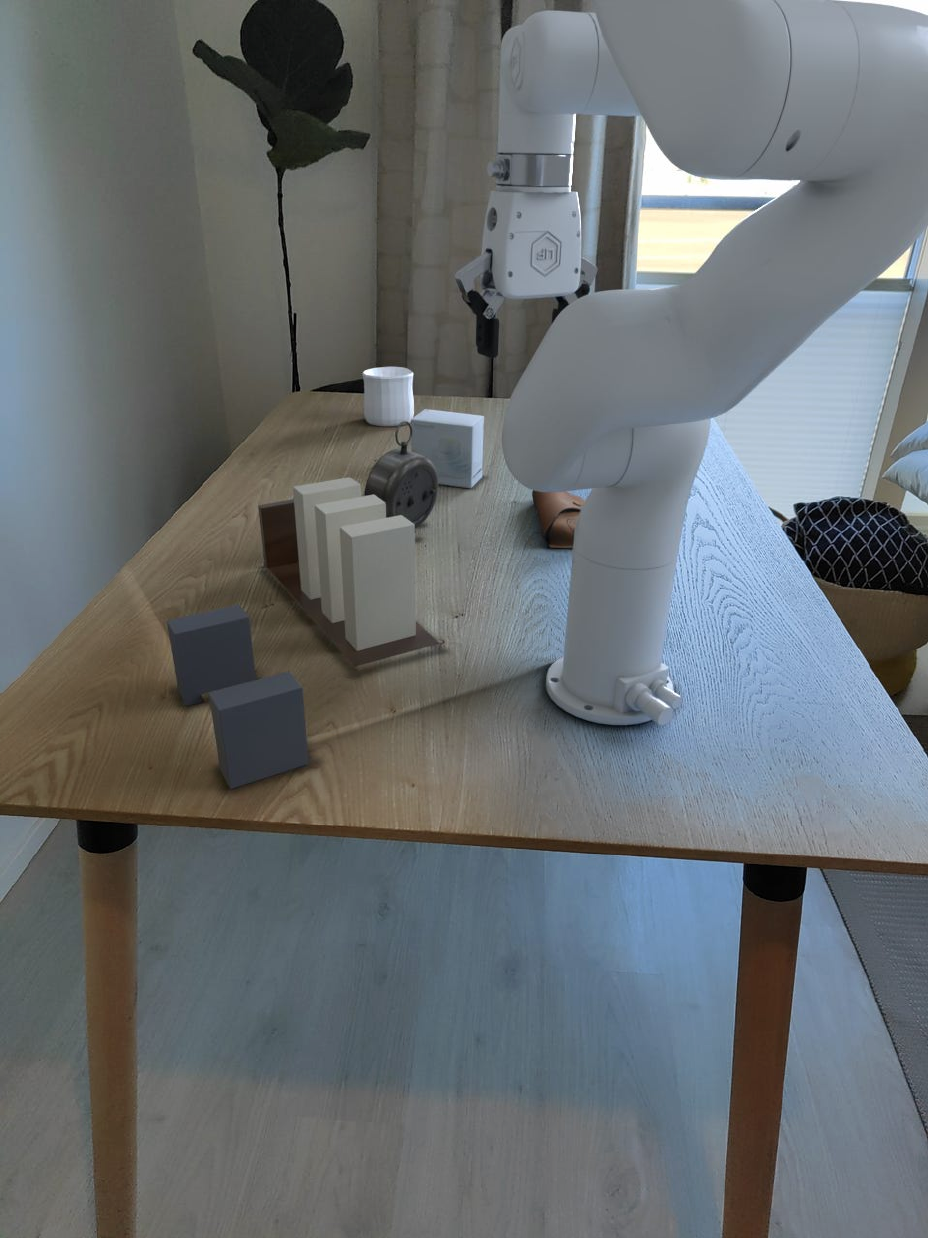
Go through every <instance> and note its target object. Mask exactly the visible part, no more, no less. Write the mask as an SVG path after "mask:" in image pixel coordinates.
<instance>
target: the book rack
mask: <svg viewBox="0 0 928 1238" xmlns="http://www.w3.org/2000/svg"><path fill="white" fill-rule="evenodd" d="M257 507H258V509H257V510H258V516H259V526H260V536H261V537H260V538H261V546H262V556H263V565H264V567H265V568H266V569H267V570H268V571H269V572H270V573H271V575H273V577H274V578H275V579H276V580H277V581H278V582H279V584H281V586H282V587H284V589H285V590H286V591H287V592H288V594H289V595H290V596H291V597H292V598H293V599H294V601H296V603H297V604H298V605H299V606H300V607H301V608H302V609H303V610H304V612H306V614H307V615H308V616H309V617H310V618H311V620H312V621H313V622H314V623H315V624H316V625H317V626H318V627H319V628H320V629H321V630H322V632H323V633H324V634H325V635H326V636H327V637H328V639H330V641H331V642H332V643H333V644H334V645H335V646H336V647H337V649H338V650H339V651H340V652H341V653H342V654H343V655H344V657H346V659H347V661H349V662H350V663H351V664H352V666H353V667H358V666H363V665H366V664H370V663H373V662H378V661H381V660H384V659H387V658H391V657H395V656H399V655H403V654H406V653H410V652H413V651H417V650H420V649H424V648H428V647H431V646H436V645H438V644H440V641H439V640H438V639H436V638H435V637H434V636H433V634H432V633H430V632H428V630H427V629H426V628H425V627H423V626H422V625H421V624H420V623H419V622H418V621H416V635H415V636H412V637H408V638H404V639H400V640H397V641H393V642H389V643H385V644H382V645H378V646H374V647H370V648H367V649H363V650H359V651H356V649H355V648H354V647H353V646H352V645H351V644H350V643H349V642H348V641H347V640H346V636H345V620H344V621H340V622H336V623H331V622H330V621H329V619H328V618H327V617H326V616H325V615H324V614H323V613H322V607H321V597H320V598H316V599H312V600H310V599H309V598H308V597H307V596H306V594H305V593H304V592H303V591H302V590H301V581H300V569H299V556H298V544H297V531H296V519H295V507H294V498H292V499H287V500H280V501H275V502H269V503H263V504H258V506H257Z"/></svg>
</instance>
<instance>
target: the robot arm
mask: <svg viewBox="0 0 928 1238" xmlns="http://www.w3.org/2000/svg"><path fill="white" fill-rule="evenodd" d="M593 5H594V11H595V12H589V11H584V12H583V11H582V12H581V11H570V10H569V11H568V10H541V11H537V12H535V13H533V14H531V15H530V16H528V17H527V18H526V19H525V21H524V22H523V23H522V24H518V25H515V26H512V27H510V28H509V29H508V30H507V31H505V34H504V35H503V37H502V39H501V43H500V53H499V86H498V88H499V89H498V118H497V119H498V120H497V121H498V123H497V149H496V150H497V154H496V155H495V160H494V161H489V162H488V163H487V165H486V174H487V176H488V177H489V178H494V179H495V180H494V183H495V190H493V189H492V190H490V194H489V198H488V201H487V202H488V203H487V207H486V212H485V219H484V225H483V232H482V233H483V234H482V241H481V251H480V252H481V254H480V255H479V256H477V257H476V258H474V260H471V261H470V262H468V263H467V264H466V265H465V266H463V267H461V268H459V270H457V271H456V272H455V274H454V279H455V282H456V283H457V287H458V289H459V292H460V293H461V298H462V301H464V302H465V303H466V305H467V306H468V307H469V309H470V311H471V314H473V315H474V316H475V317H476V318H475V345H476V347H477V348H476V350H477V354H479V355H481V356H484V357H487V358H489V359H495V358H497V357H498V356H499V342H500V341H499V337H500V320H499V318H497V317H495V315H496V314H497V312H498V311H499V309H500V308H501V306H503V303H504V302H505V300H506V299H510V300H526V299H527V300H528V299H529V300H530V299H542V298H552V300H553V301H554V302H555V305H557V307H555V308H553V309H552V311H551V313H552V314H551V325H550V327H548V329H547V331H546V333H545V335H544V337H543V338H542V340H541V341H540V344H539V346H538V347H537V348H536V351H535V352H534V354H533V355H532V357H531V359H530V361H529V362H528V364H527V366H526V368H525V369H524V371H523V373H522V374H521V377H520V378H519V380H518V382H517V383H516V385H515V387H514V389H513V391H512V393H511V395H510V398H509V400H508V403H507V406H506V410H505V412H504V417H503V421H502V428H501V448H502V455H503V459H504V461H505V465H506V466H507V469H508V470H509V472H510V473H511V475H512V477H513V478H514V479H515V480H516V481H517V482H518V483H519V484H521V485H522V486H524V487H525V488H527V489H529V490H531V491H533V490H534V491H539V492H561V491H566V492H572V491H580V490H591V491H590V492H589V493H588V495H587V496H586V499H584V500H585V502H584V504H583V506H582V508H581V511H580V513H579V516H578V519H577V522H576V527H575V533H574V543H573V549H572V553H571V554H572V555H571V566H570V577H569V578H570V579H569V590H568V601H567V602H568V603H567V611H566V626H565V635H564V636H565V637H564V647H563V656H562V657H560V658H558V659H556V660H555V661H554V662H553V663H552V664H551V665H550V666H549V668H548V669H547V672H546V676H545V677H546V678H545V688H546V692H547V694H548V696H549V698H550V700H552V702H554V703H555V705H556V706H558V707H559V708H560V709H561V710H563V711H565V712H566V713H568V714H570V715H572V716H574V717H576V718H579V719H582V720H584V721H588V722H591V723H596V724H599V725H600V724H601V725H608V726H631V725H639V724H643V723H648V722H649V721H650V722H651V721H653V722H654V723H655V724H657V725H658V726H660V727H664V726H666V725H668V724H669V723H670V722H671V721H672V720H673V716H674V713H675V712H674V710H677V709H679V708H680V707H681V706H682V704H683V702H684V698H683V697H682V696H681V695H680V694H678V693H677V692H675V688H674V682H673V681H672V678H671V677H670V676H669V671H670V667H669V666H668V665H666V664H664V663H663V656H664V648H665V642H666V637H667V636H666V635H667V630H668V622H669V615H670V609H671V603H672V598H673V597H672V596H673V590H674V582H675V576H676V570H677V563H678V556H679V553H680V546H681V540H682V533H683V527H684V522H685V516H686V511H687V507H688V503H689V499H690V496H691V492H692V488H693V486H694V483H695V479H696V476H697V475H698V472H699V469H700V466H701V464H702V461H703V458H704V456H705V452H706V449H707V446H708V442H709V437H710V432H711V423H712V422H711V420H712V419H714V418H717V417H719V416H722V415H724V414H726V413H727V412H729V411H730V410H732V409H733V408H735V407H736V406H737V405H739V404H740V403H741V402H742V401H743V400H745V398H747V397H748V396H749V395H750V394H751V393H752V392H753V391H754V390H755V389H756V388H757V387H759V386H760V385H761V384H762V383H763V382H764V381H765V380H766V379H767V378H768V377H769V376H770V375H772V373H773V372H774V371H776V369H778V368H779V367H780V366H781V365H782V364H783V363H784V362H785V361H787V359H788V358H789V357H791V355H793V354H794V353H795V352H796V351H797V350H798V349H799V348H800V347H801V346H802V345H803V344H804V343H805V342H806V341H807V340H808V339H809V338H810V337H811V336H812V335H813V334H814V333H815V331H817V329H819V328H820V327H821V326H822V325H823V324H824V323H825V322H827V320H828V319H830V318H831V317H832V316H834V314H836V312H838V311H839V310H841V308H843V307H844V306H845V305H846V304H847V303H849V302H850V301H851V300H852V299H853V298H855V297H856V296H857V295H858V294H860V293H861V292H862V291H863V290H865V289H866V288H867V287H868V286H869V285H871V284H872V283H873V282H874V281H875V280H877V279H878V278H879V277H880V276H881V275H882V274H884V272H886V271H887V270H889V268H890V267H891V266H892V265H893V264H894V263H895V262H897V261H898V260H899V259H901V257H902V256H903V255H904V254H905V253H906V252H907V251H908V250H909V249H910V248H911V247H912V246H913V245H914V243H915V242H916V241H917V240H918V239H919V238H920V237H921V235H922V234H923V233H924V232H925V231H926V229H927V228H928V14H925V13H922V12H920V11H916V10H912V9H908V8H903V7H899V6H895V5H889V4H883V3H882V4H881V3H872V2H864V1H863V2H862V1H850V0H593ZM577 115H591V116H613V117H640V116H641V117H642V119H643V122H644V123H645V125H646V127H647V129H648V131H649V133H650V135H651V137H652V138H653V140H654V142H655V144H656V145H657V147H658V149H659V150H660V151H661V152H662V154H663V155H664V156H665V157H666V159H667V160H668V161H669V162H670V163H671V164H672V165H673V166H675V167H676V168H678V169H679V170H681V171H683V172H685V173H687V174H689V175H692V176H694V177H698V178H703V179H707V180H708V179H709V180H719V181H787V182H788V181H790V182H792V181H793V182H794V181H795V182H797V181H798V182H797V183H795V184H794V185H793V186H791V187H790V188H789V189H788V190H786V191H784V192H783V193H781V194H780V195H778V196H777V197H775V198H774V199H772V200H770V201H769V202H767V203H766V204H763V205H762V206H761V207H759V208H758V209H756V210H755V211H753V212H751V213H750V214H749V215H748V216H746V217H745V218H743V219H742V220H740V222H738V223H737V224H736V225H735V226H734V227H733V228H732V229H731V230H730V231H729V232H727V234H726V235H725V236H724V237H723V238H722V239H721V240H720V241H719V242H718V243H717V244H716V246H715V248H714V249H713V251H712V252H711V254H710V255H709V256H708V258H707V259H706V261H704V262H703V264H702V265H701V266H700V267H699V268H698V269H697V271H695V272H694V274H692V276H690V277H689V278H688V279H686V281H683V282H682V283H678V284H675V285H669V286H663V287H662V286H661V287H654V288H631V289H629V288H628V289H608V290H601V291H595V292H592V293H590V291H591V286H592V285H593V282H594V280H595V278H596V277H597V274H598V271H599V270H598V267H597V265H595V264H594V263H592V262H591V261H589V260H588V259H587V258H586V257H584V256H582V221H581V208H580V202H579V201H580V200H579V195H578V191H574V190H573V191H572V190H571V189H572V187H571V186H572V177H573V164H574V163H573V162H574V147H575V133H576V117H577ZM478 277H480V286H481V289H482V291H481V292H480V293H479V292H478V291H477V288H476V284H475V283H476V282H475V281H476V280H477V278H478Z"/></svg>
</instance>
